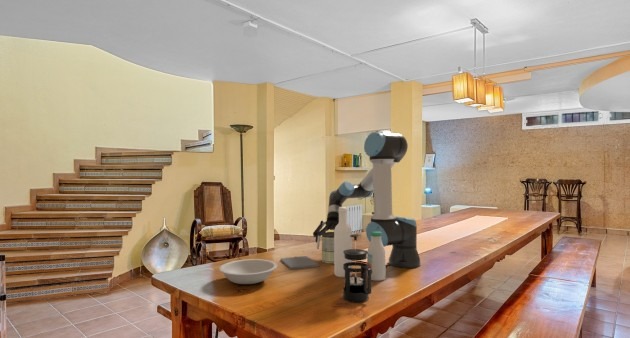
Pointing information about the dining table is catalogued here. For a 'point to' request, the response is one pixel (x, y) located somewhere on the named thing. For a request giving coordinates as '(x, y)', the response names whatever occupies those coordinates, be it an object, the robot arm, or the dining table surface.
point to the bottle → (341, 243)
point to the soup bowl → (248, 270)
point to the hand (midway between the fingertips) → (330, 248)
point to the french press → (352, 284)
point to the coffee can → (328, 247)
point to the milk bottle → (376, 257)
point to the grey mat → (299, 262)
